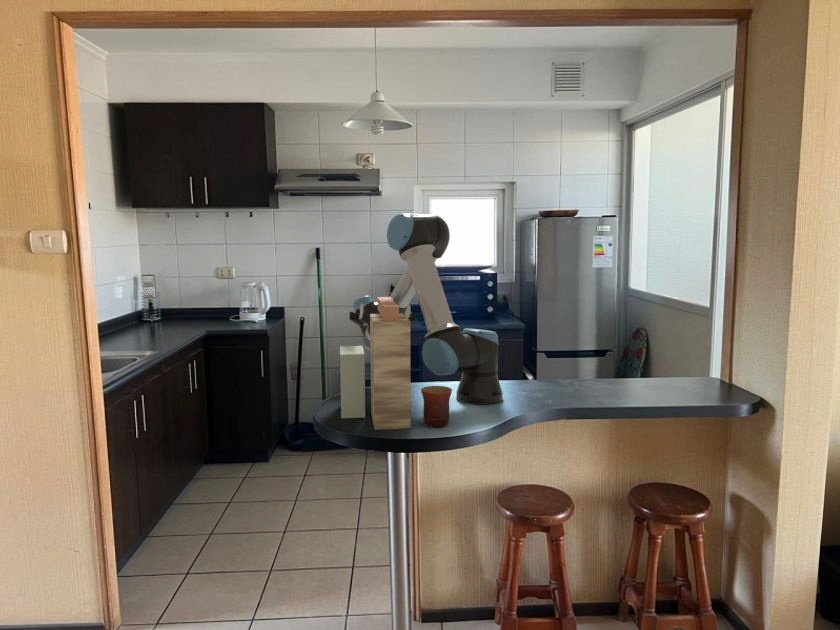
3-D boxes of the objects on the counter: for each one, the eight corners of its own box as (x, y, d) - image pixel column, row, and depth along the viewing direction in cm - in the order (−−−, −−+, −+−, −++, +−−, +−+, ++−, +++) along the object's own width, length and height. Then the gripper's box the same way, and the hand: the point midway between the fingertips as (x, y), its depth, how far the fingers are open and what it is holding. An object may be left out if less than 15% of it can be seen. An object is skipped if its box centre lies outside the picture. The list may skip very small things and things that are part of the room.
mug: (456, 427, 168) (457, 391, 166) (427, 431, 164) (427, 394, 163) (440, 415, 179) (440, 382, 177) (412, 418, 176) (412, 384, 174)
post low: (340, 405, 190) (340, 346, 187) (363, 404, 191) (362, 345, 188) (341, 418, 176) (340, 354, 174) (365, 417, 177) (364, 354, 175)
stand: (370, 411, 183) (369, 313, 179) (403, 410, 185) (403, 313, 181) (374, 429, 166) (373, 322, 162) (410, 428, 167) (410, 321, 163)
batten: (377, 309, 191) (377, 297, 190) (390, 309, 191) (390, 296, 191) (384, 321, 163) (384, 306, 163) (399, 321, 164) (398, 306, 163)
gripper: (415, 340, 209) (426, 320, 190) (340, 338, 204) (344, 318, 185) (414, 320, 212) (425, 298, 193) (340, 318, 207) (344, 295, 188)
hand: (386, 307), depth 188 cm, fingers open, 14 cm apart
